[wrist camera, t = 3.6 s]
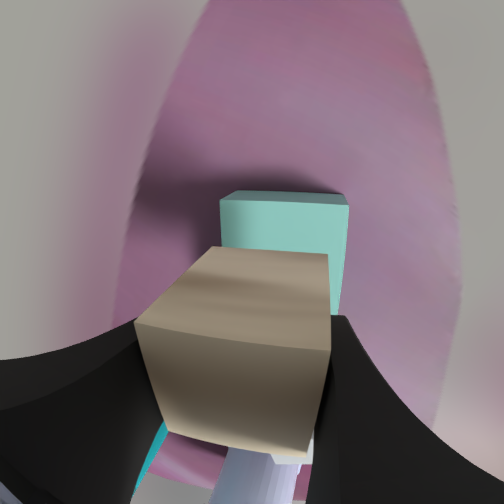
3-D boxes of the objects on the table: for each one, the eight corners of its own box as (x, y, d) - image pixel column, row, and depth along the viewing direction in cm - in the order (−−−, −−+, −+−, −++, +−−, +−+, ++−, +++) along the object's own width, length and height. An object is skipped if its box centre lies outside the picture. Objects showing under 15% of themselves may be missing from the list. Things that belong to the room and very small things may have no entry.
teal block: (335, 292, 17) (336, 319, 14) (239, 285, 18) (225, 309, 16) (343, 194, 15) (349, 205, 12) (236, 190, 16) (219, 200, 14)
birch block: (316, 349, 11) (305, 457, 6) (219, 338, 12) (167, 430, 7) (327, 253, 9) (330, 350, 5) (212, 246, 10) (133, 322, 6)
